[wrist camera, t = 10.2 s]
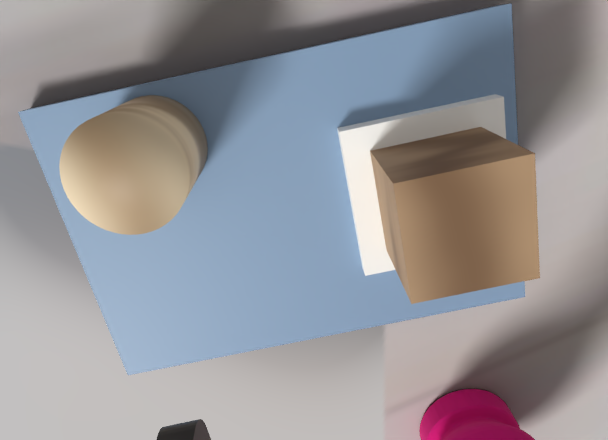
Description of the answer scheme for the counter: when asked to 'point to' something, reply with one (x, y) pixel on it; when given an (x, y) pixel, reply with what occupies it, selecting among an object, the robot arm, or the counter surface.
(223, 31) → the counter surface
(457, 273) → the walnut cube
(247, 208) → the board
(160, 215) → the maple cylinder
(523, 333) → the counter surface
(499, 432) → the pepper mill
